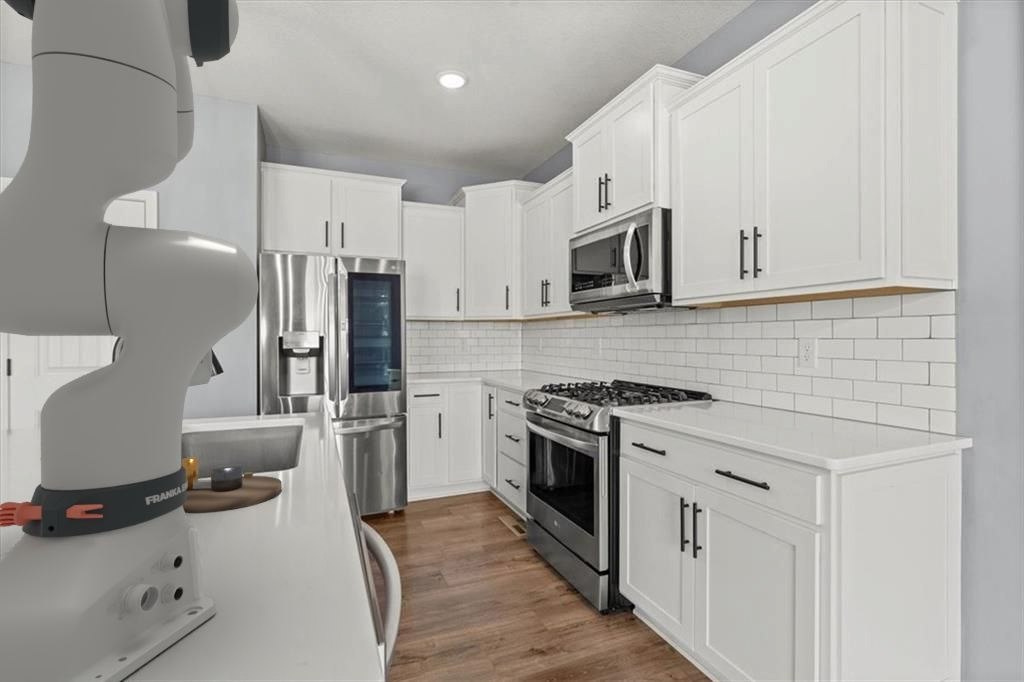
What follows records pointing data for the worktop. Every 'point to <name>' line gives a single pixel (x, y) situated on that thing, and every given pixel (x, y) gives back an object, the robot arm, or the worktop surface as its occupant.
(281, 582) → the worktop surface
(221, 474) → the dial pointer
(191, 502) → the dial plate
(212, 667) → the worktop surface
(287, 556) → the worktop surface
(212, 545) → the worktop surface
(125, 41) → the robot arm
